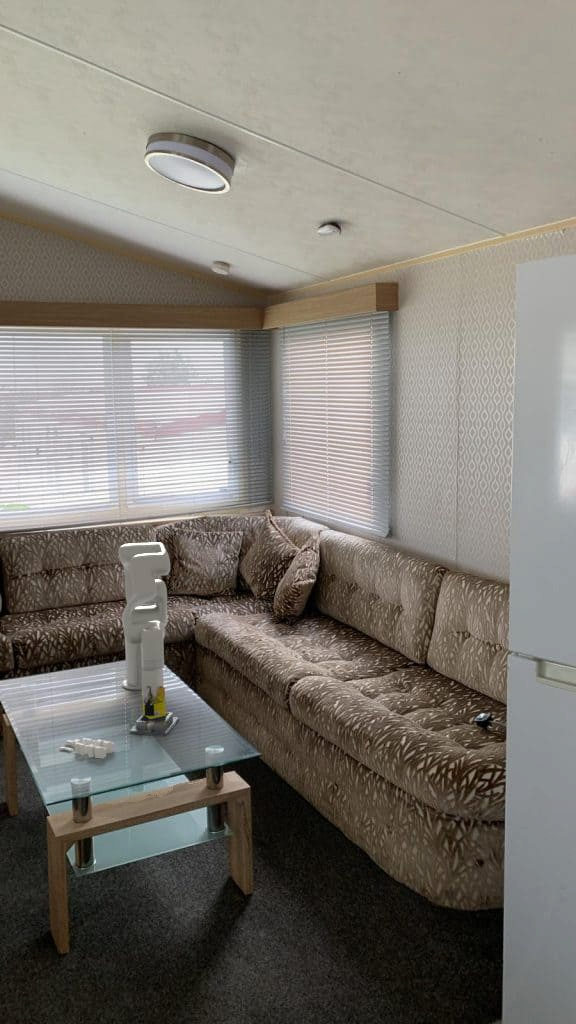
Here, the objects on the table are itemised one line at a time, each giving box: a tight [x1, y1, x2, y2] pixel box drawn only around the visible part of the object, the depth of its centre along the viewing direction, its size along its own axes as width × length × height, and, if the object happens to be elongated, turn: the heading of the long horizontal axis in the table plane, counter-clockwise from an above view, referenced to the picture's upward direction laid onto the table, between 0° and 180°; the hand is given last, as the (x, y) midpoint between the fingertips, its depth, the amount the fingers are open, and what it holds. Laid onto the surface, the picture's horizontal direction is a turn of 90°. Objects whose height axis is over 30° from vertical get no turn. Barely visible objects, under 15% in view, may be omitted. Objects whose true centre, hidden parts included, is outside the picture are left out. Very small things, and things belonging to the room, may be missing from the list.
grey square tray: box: [129, 711, 180, 736], centre depth 295 cm, size 14×13×4 cm
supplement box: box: [142, 685, 166, 721], centre depth 294 cm, size 6×6×11 cm
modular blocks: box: [59, 737, 115, 759], centre depth 276 cm, size 20×7×4 cm, turn 68°
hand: (154, 710), depth 295 cm, fingers open, 9 cm apart
